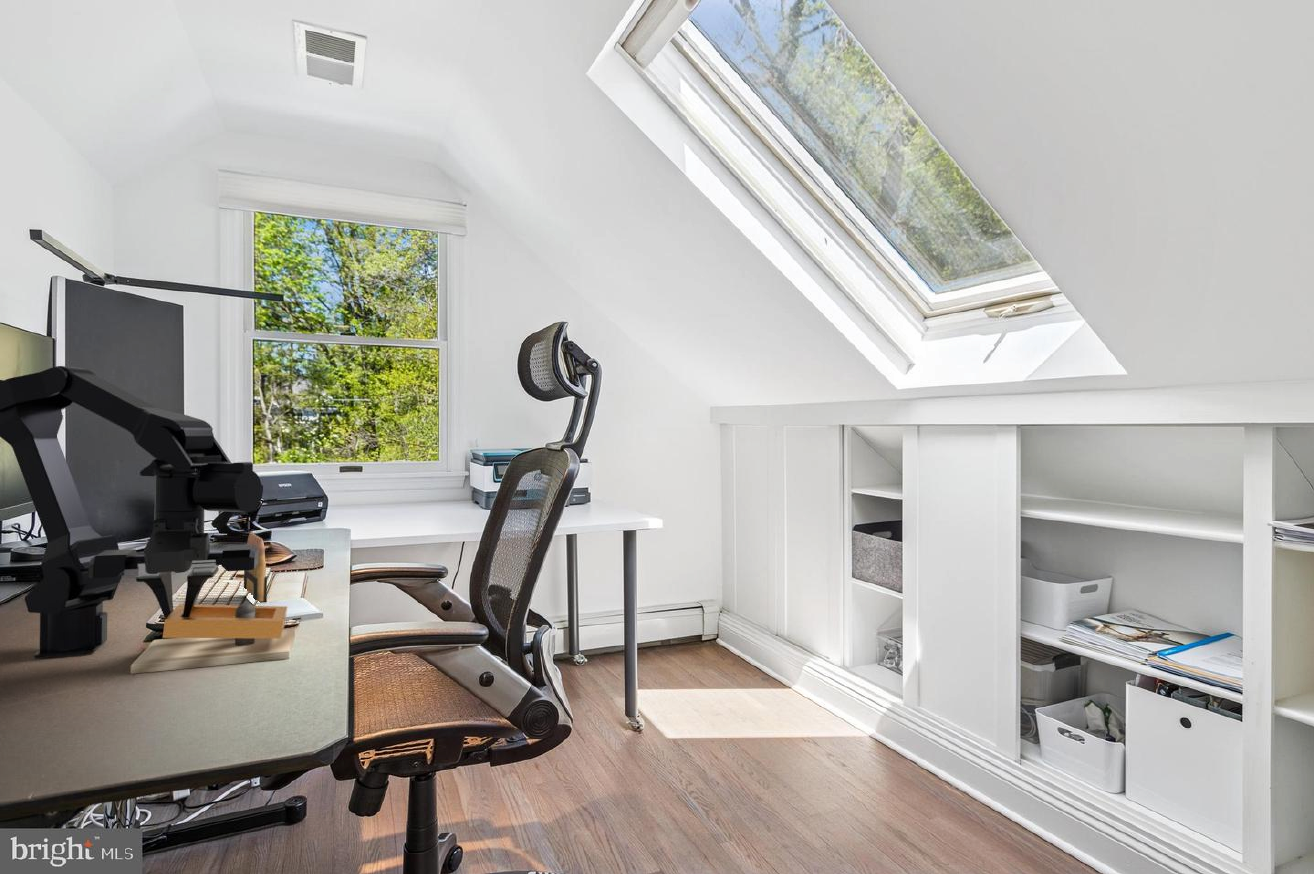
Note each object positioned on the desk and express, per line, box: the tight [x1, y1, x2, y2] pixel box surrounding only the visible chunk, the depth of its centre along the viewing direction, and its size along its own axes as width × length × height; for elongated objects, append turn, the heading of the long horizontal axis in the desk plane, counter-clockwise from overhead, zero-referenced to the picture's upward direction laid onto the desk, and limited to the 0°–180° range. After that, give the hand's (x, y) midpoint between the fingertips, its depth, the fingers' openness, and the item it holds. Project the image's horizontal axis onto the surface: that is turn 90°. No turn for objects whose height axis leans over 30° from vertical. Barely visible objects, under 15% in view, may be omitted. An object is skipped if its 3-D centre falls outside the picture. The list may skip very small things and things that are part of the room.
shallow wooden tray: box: [162, 603, 287, 639], centre depth 100 cm, size 14×9×2 cm, turn 114°
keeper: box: [130, 602, 296, 675], centre depth 100 cm, size 18×12×7 cm, turn 114°
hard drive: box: [257, 597, 324, 622], centre depth 121 cm, size 2×8×12 cm
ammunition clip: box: [243, 531, 268, 603], centre depth 129 cm, size 11×2×12 cm, turn 40°
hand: (177, 623), depth 98 cm, fingers closed on shallow wooden tray, 1 cm apart
